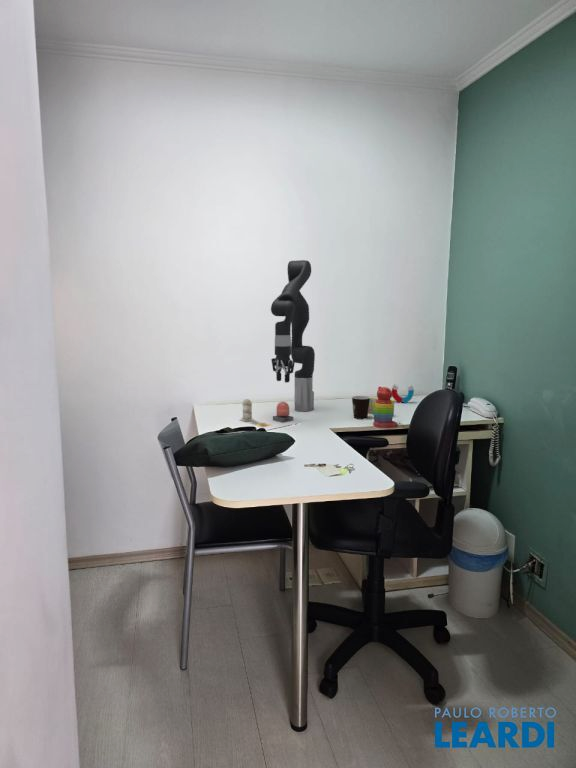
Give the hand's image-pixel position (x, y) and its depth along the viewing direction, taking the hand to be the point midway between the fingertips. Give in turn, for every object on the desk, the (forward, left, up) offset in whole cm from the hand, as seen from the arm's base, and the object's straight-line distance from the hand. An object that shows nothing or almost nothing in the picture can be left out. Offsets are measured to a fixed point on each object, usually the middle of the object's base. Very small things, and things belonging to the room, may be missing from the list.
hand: (282, 381), depth 258 cm
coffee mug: (-35, +17, -20) cm, 44 cm away
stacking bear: (-30, +35, -20) cm, 50 cm away
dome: (0, 0, -16) cm, 16 cm away
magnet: (-79, +9, -20) cm, 82 cm away
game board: (+9, -4, -19) cm, 22 cm away
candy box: (-46, +19, -20) cm, 54 cm away
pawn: (+13, -11, -18) cm, 25 cm away
